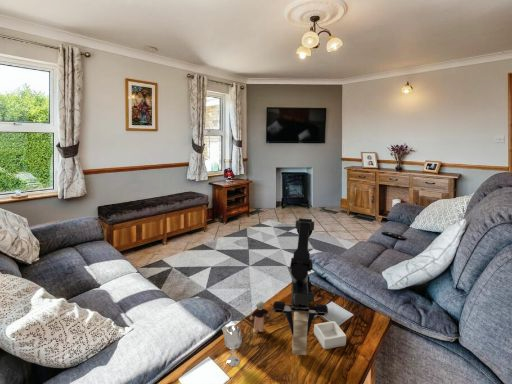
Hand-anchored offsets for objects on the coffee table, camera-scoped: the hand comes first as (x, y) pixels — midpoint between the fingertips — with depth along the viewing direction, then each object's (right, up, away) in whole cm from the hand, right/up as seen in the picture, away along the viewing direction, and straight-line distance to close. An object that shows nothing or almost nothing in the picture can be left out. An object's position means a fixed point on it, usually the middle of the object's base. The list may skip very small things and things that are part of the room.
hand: (300, 335), depth 97 cm
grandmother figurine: (-13, -6, +15) cm, 21 cm away
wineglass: (-23, -9, 0) cm, 24 cm away
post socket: (+13, -7, +11) cm, 18 cm away
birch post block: (0, -6, +3) cm, 7 cm away
